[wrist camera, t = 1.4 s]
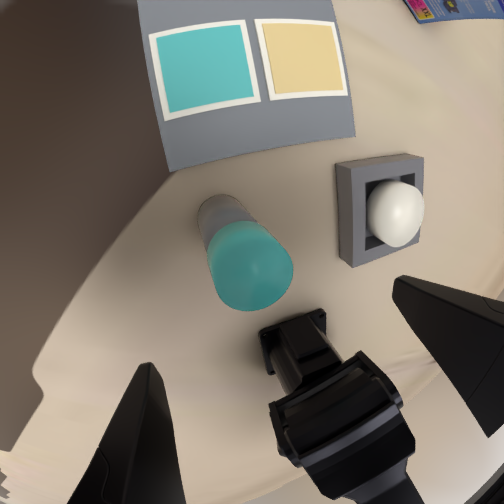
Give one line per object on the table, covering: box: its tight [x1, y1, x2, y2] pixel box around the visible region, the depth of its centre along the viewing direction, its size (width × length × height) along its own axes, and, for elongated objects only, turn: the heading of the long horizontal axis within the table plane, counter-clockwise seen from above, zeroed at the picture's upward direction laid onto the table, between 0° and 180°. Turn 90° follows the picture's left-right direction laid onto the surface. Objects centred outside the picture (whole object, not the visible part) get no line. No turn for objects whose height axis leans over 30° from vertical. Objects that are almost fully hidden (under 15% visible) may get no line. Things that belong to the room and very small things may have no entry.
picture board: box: [137, 0, 356, 172], centre depth 14 cm, size 12×13×1 cm
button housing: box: [335, 154, 424, 268], centre depth 21 cm, size 8×8×2 cm
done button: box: [366, 179, 424, 247], centre depth 19 cm, size 5×5×2 cm
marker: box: [197, 195, 293, 311], centre depth 15 cm, size 3×3×8 cm
